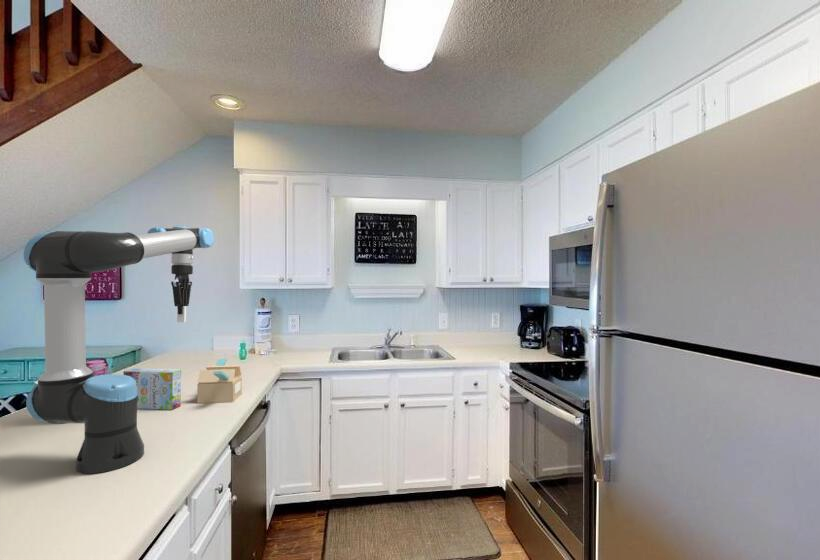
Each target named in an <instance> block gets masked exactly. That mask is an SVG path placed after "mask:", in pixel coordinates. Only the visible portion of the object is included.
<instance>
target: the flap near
mask: <svg viewBox="0 0 820 560" xmlns="http://www.w3.org/2000/svg"><path fill="white" fill-rule="evenodd" d="M234 375H235V369H221V370H207V369H201V370H199V374H198V379H197V384H198V383H213V382H233V381H234Z"/></svg>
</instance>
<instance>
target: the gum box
mask: <svg viewBox="0 0 820 560" xmlns="http://www.w3.org/2000/svg"><path fill="white" fill-rule="evenodd" d="M86 365H87V366H88V367H90V368H91V369H92V370H93V372H94V376H99V375H106V374H109V369H110V368H109V363H108V361H107V358H106V357H104V358H95V359H86ZM109 375H110V374H109Z"/></svg>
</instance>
